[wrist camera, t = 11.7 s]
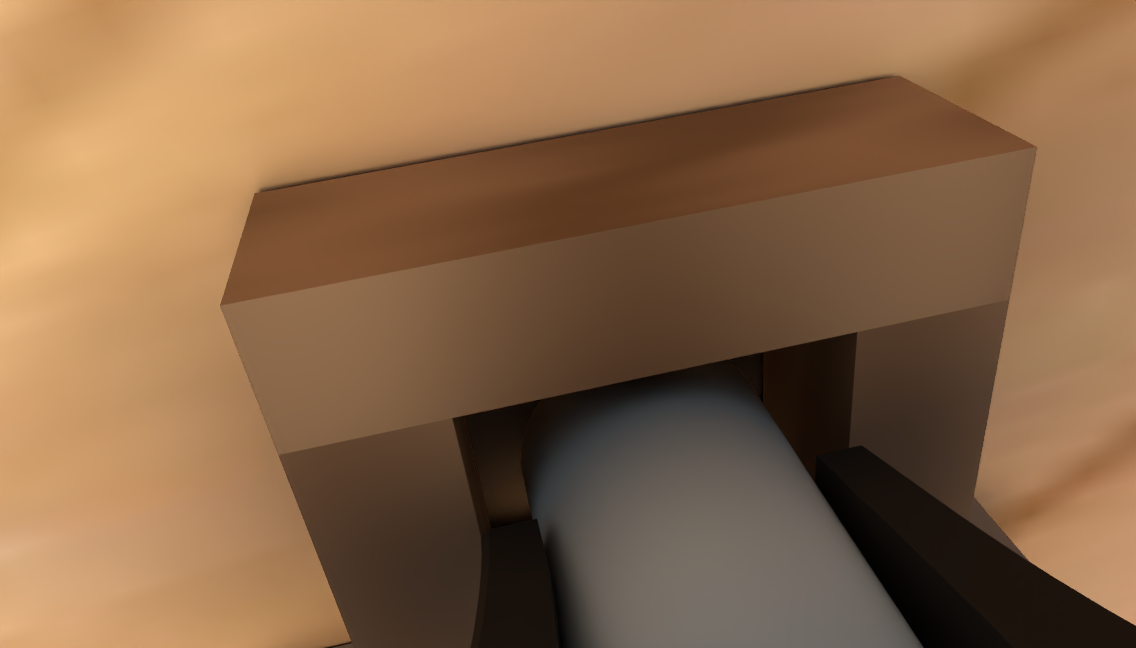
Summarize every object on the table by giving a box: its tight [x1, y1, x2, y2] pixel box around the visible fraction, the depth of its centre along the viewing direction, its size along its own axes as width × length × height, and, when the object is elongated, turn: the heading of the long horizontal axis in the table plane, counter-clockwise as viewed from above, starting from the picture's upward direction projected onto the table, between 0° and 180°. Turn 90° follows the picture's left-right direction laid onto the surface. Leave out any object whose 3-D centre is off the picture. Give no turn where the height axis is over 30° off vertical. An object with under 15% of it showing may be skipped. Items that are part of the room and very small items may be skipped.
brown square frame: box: [220, 76, 1037, 648], centre depth 13 cm, size 9×9×3 cm
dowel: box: [521, 360, 924, 648], centre depth 10 cm, size 4×4×7 cm
